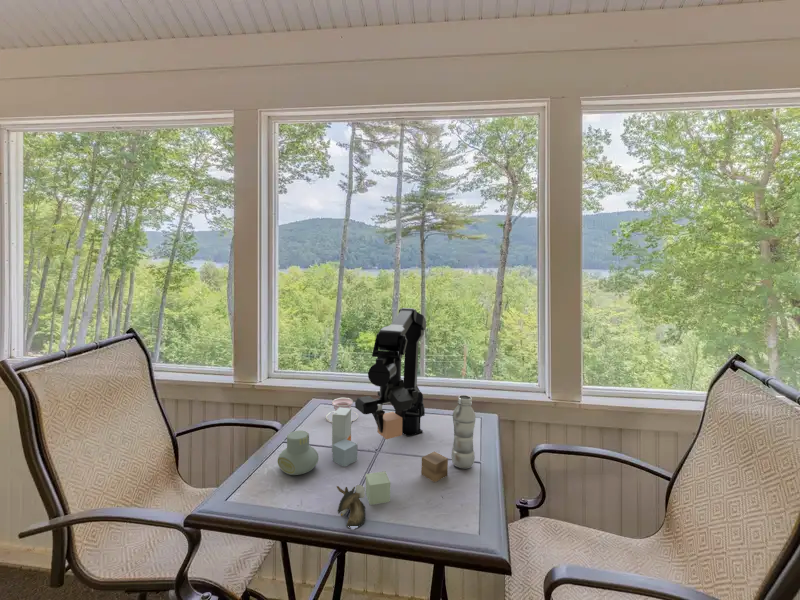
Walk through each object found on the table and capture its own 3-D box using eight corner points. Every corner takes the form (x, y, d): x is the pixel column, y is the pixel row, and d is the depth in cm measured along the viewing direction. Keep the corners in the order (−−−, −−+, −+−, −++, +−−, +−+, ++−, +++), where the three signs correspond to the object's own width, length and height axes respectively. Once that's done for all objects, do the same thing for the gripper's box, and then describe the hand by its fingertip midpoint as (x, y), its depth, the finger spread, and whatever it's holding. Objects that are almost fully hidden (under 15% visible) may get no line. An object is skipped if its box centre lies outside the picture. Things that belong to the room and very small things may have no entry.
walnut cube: (433, 468, 108) (434, 451, 107) (447, 476, 104) (447, 458, 104) (421, 474, 105) (421, 457, 104) (434, 482, 101) (435, 464, 100)
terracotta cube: (392, 428, 110) (393, 411, 109) (402, 435, 106) (402, 417, 105) (377, 432, 107) (377, 415, 107) (386, 439, 103) (386, 421, 103)
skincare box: (345, 454, 115) (345, 415, 114) (331, 452, 116) (331, 414, 114) (351, 444, 121) (351, 408, 119) (338, 443, 121) (338, 406, 120)
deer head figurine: (327, 502, 90) (329, 520, 81) (343, 473, 91) (347, 488, 83) (354, 516, 91) (359, 536, 82) (370, 488, 93) (377, 504, 84)
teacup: (356, 425, 136) (356, 408, 135) (322, 424, 136) (322, 407, 135) (360, 411, 148) (360, 396, 147) (329, 411, 148) (329, 395, 147)
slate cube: (345, 454, 115) (345, 438, 114) (357, 460, 111) (357, 443, 111) (332, 461, 111) (332, 444, 110) (344, 467, 108) (344, 450, 107)
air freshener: (273, 469, 106) (272, 434, 105) (296, 457, 112) (296, 424, 111) (300, 483, 100) (299, 446, 99) (323, 469, 106) (323, 434, 105)
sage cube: (384, 490, 97) (385, 471, 97) (390, 501, 92) (390, 482, 92) (365, 493, 96) (365, 474, 95) (369, 505, 91) (369, 485, 91)
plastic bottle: (460, 473, 105) (462, 403, 103) (446, 462, 111) (448, 395, 109) (479, 468, 108) (481, 399, 106) (464, 457, 114) (466, 392, 112)
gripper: (373, 389, 93) (373, 450, 95) (435, 378, 103) (434, 434, 104) (354, 377, 103) (354, 433, 104) (412, 368, 112) (411, 419, 114)
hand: (389, 430), depth 106 cm, fingers closed on terracotta cube, 5 cm apart
